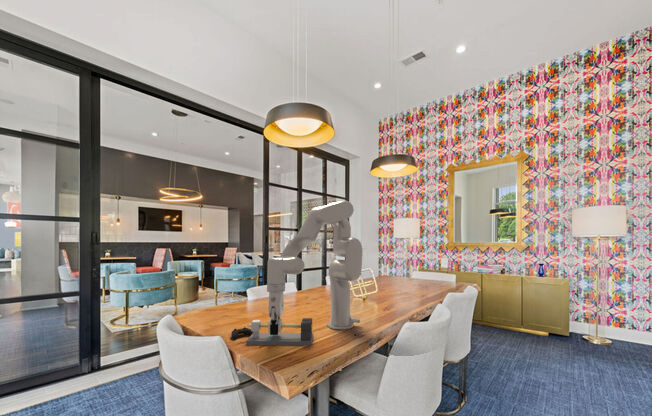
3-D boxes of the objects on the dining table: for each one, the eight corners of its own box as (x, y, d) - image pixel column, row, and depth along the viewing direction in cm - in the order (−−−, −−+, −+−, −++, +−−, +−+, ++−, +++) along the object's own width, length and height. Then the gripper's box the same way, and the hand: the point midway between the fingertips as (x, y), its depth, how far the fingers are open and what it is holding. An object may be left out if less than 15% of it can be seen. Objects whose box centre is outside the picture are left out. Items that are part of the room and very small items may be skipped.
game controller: (233, 339, 118) (230, 326, 122) (230, 346, 121) (227, 333, 125) (255, 334, 124) (252, 322, 128) (252, 341, 127) (248, 329, 131)
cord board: (313, 336, 123) (313, 317, 124) (311, 345, 113) (311, 324, 114) (250, 336, 124) (251, 316, 125) (243, 344, 114) (244, 323, 115)
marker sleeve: (282, 329, 121) (282, 319, 122) (280, 332, 117) (280, 321, 117) (270, 329, 121) (270, 318, 122) (268, 332, 117) (268, 321, 117)
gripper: (281, 291, 113) (280, 339, 111) (288, 284, 129) (287, 326, 127) (262, 291, 113) (261, 339, 111) (271, 284, 129) (270, 326, 127)
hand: (275, 332), depth 119 cm, fingers closed on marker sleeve, 4 cm apart
